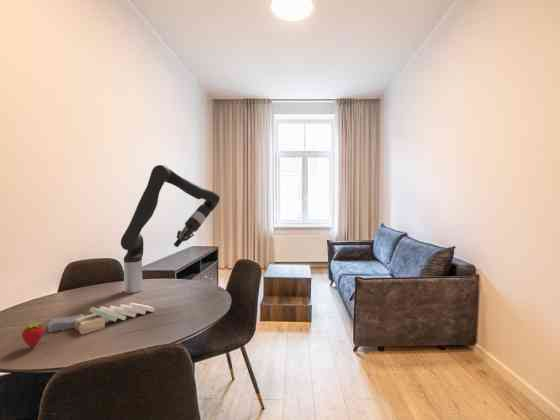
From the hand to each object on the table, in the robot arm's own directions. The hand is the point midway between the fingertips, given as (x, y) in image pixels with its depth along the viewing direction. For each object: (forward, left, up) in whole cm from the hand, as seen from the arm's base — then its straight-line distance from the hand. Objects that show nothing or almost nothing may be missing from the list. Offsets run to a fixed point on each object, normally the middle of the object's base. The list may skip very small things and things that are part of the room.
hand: (175, 246), depth 155 cm
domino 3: (+6, -25, -27) cm, 37 cm away
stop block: (+6, -42, -28) cm, 51 cm away
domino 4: (+6, -20, -27) cm, 34 cm away
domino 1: (+6, -33, -27) cm, 43 cm away
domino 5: (+6, -16, -27) cm, 32 cm away
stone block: (-4, -47, -28) cm, 55 cm away
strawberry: (+9, -60, -28) cm, 67 cm away
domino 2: (+6, -29, -27) cm, 40 cm away
